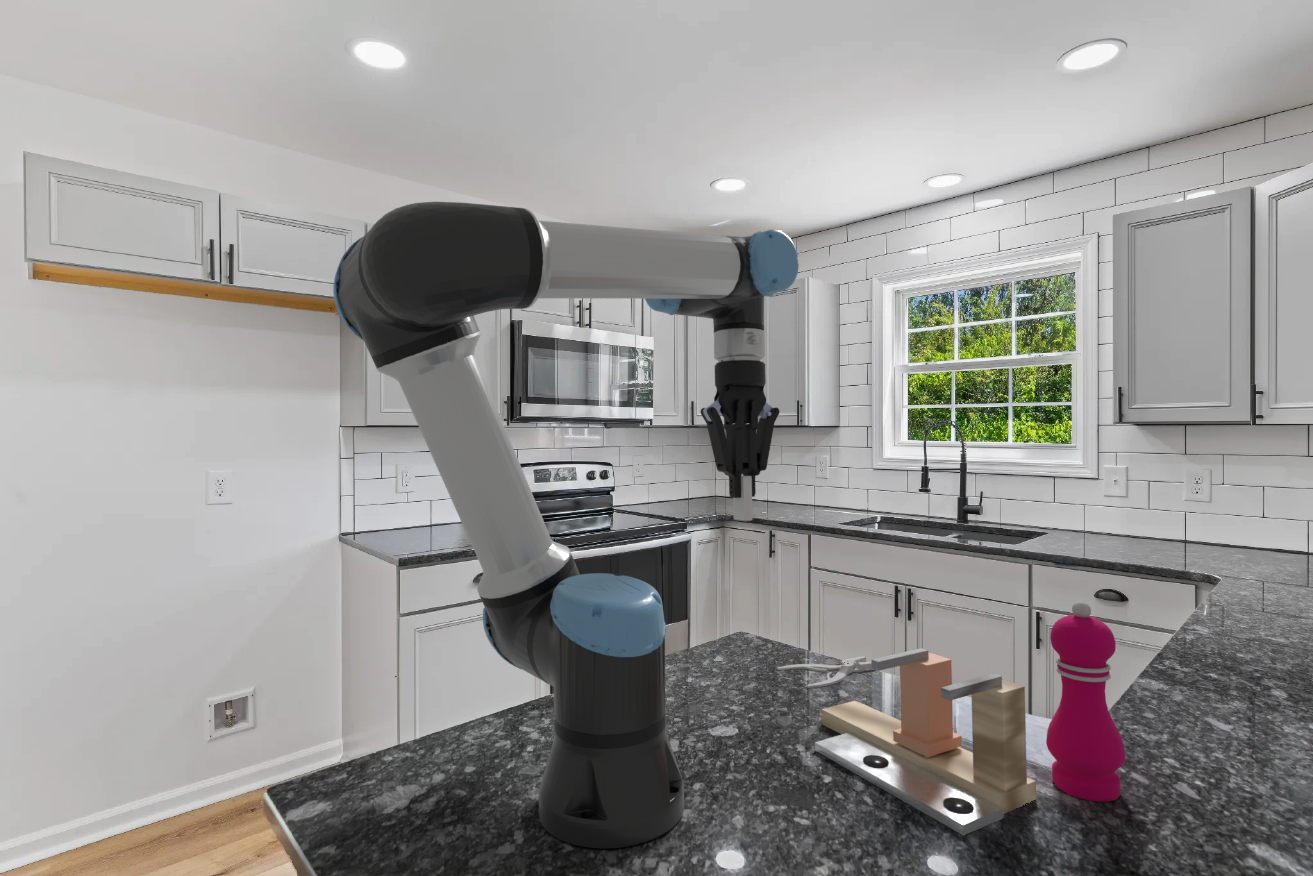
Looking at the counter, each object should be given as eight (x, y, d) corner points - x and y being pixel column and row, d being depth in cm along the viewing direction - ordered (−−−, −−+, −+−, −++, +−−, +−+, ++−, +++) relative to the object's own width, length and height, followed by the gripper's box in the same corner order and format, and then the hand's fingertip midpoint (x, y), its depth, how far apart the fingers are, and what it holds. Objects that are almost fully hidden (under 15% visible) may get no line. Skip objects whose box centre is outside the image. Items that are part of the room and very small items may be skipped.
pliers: (776, 661, 114) (852, 650, 119) (776, 671, 114) (852, 659, 119) (809, 680, 105) (889, 667, 110) (809, 691, 105) (890, 677, 110)
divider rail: (965, 830, 66) (962, 695, 66) (792, 732, 89) (790, 632, 89) (1036, 800, 72) (1033, 675, 72) (855, 715, 94) (853, 620, 95)
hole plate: (963, 835, 65) (963, 823, 65) (815, 750, 84) (814, 741, 84) (1003, 818, 68) (1003, 806, 68) (851, 739, 87) (851, 730, 87)
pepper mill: (1053, 765, 79) (1049, 591, 79) (1129, 784, 74) (1125, 599, 75) (1041, 790, 73) (1036, 603, 74) (1122, 812, 69) (1117, 613, 69)
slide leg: (894, 768, 74) (892, 666, 74) (860, 750, 79) (858, 654, 79) (961, 746, 79) (959, 650, 79) (926, 730, 84) (924, 640, 84)
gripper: (716, 356, 96) (720, 525, 96) (790, 359, 102) (793, 518, 102) (689, 362, 102) (692, 520, 102) (760, 365, 108) (763, 514, 108)
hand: (742, 519), depth 102 cm, fingers closed
